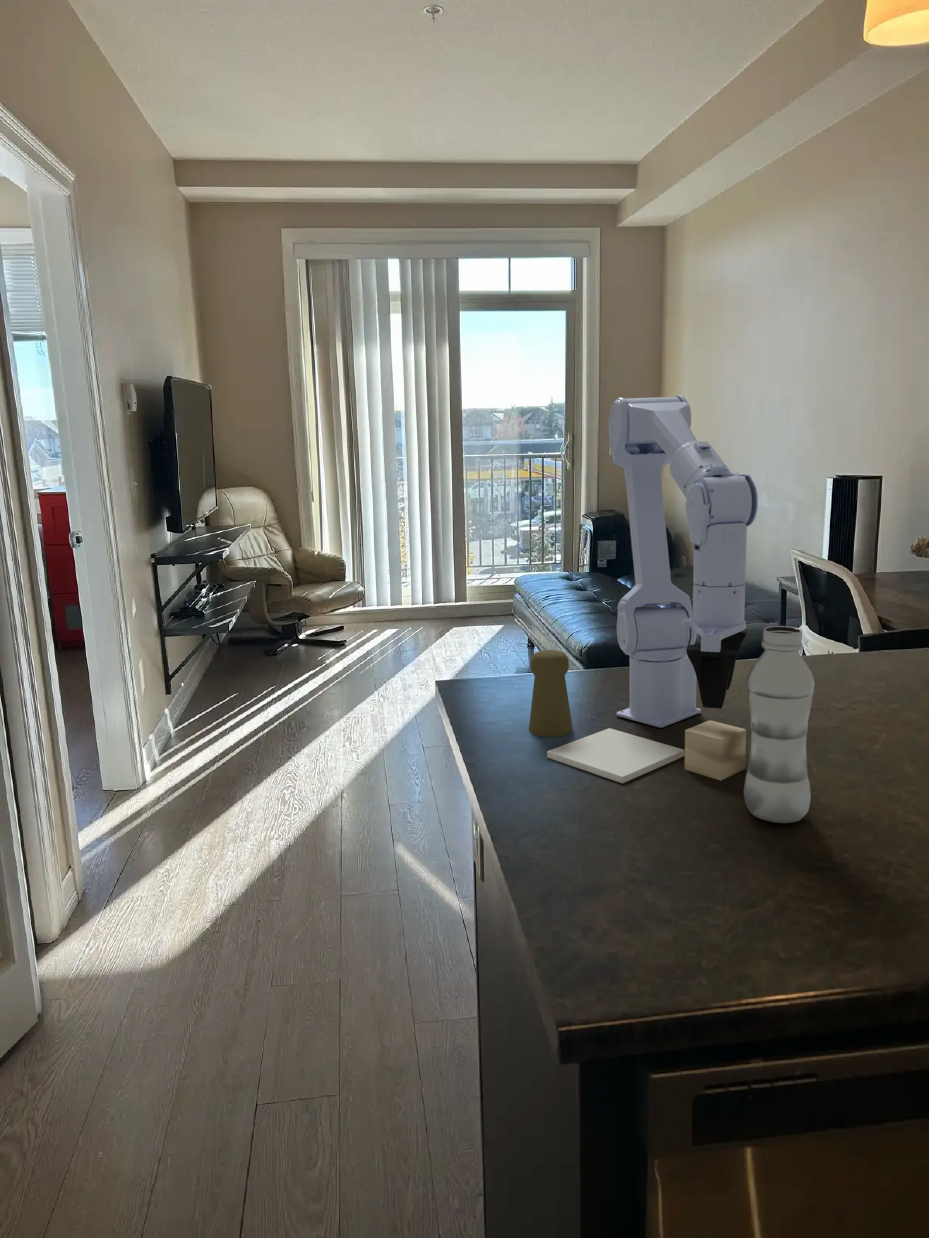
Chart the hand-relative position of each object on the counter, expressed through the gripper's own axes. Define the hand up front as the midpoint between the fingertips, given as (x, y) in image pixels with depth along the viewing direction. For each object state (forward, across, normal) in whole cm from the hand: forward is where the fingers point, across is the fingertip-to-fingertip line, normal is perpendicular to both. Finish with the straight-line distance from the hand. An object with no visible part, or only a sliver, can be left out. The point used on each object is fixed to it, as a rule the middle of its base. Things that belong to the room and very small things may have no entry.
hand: (716, 697), depth 104 cm
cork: (+9, -8, -23) cm, 26 cm away
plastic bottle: (+9, +12, +8) cm, 17 cm away
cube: (+9, 0, 0) cm, 9 cm away
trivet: (+9, -1, -12) cm, 15 cm away
